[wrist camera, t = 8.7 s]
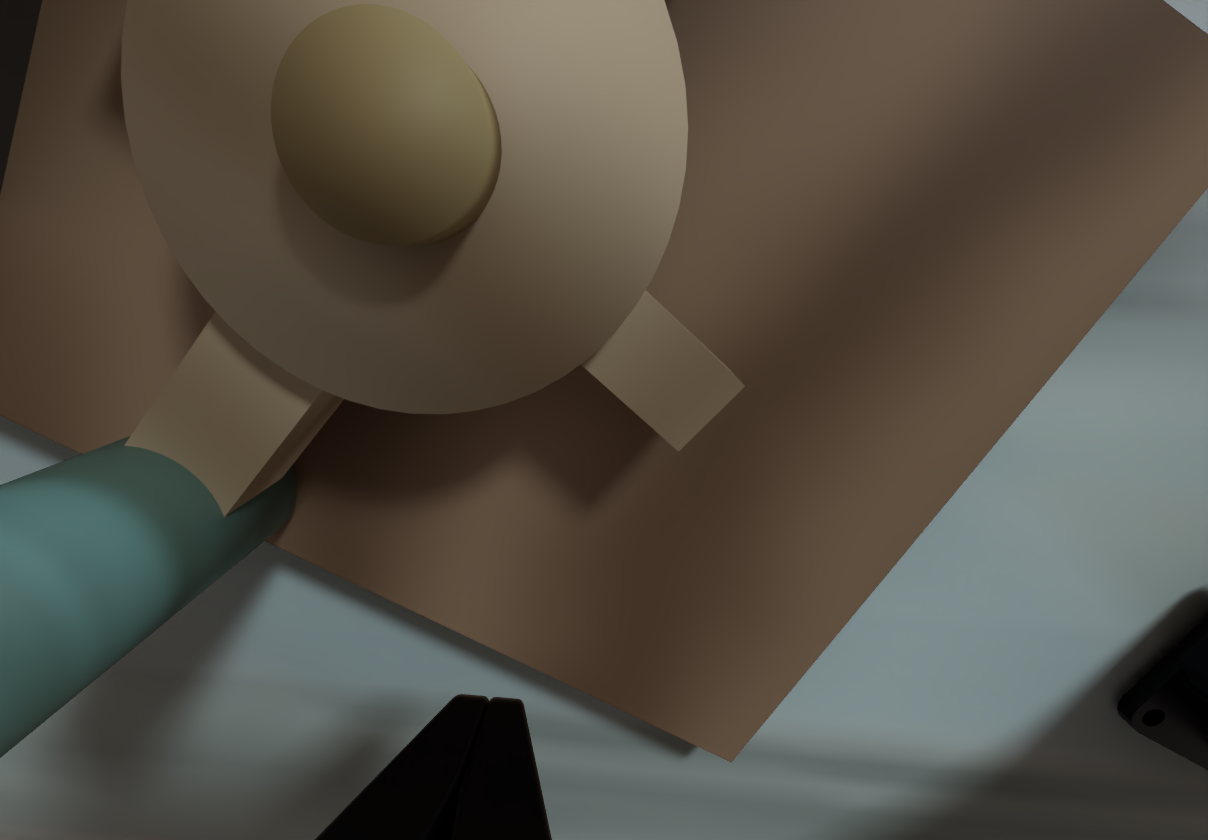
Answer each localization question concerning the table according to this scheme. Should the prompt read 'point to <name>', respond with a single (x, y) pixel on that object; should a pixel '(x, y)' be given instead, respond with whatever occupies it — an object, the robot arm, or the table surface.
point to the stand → (699, 302)
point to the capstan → (355, 276)
